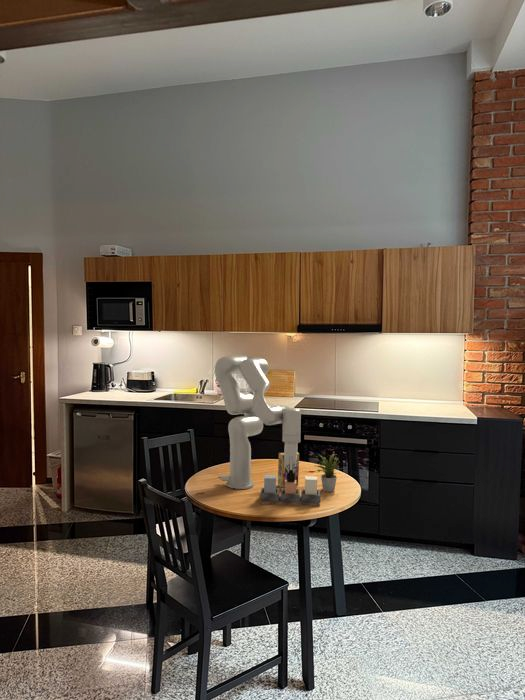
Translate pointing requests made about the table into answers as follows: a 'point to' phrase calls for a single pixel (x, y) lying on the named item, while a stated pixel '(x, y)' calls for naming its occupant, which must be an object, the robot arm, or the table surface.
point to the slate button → (270, 484)
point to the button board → (290, 498)
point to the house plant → (328, 474)
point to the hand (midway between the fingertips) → (290, 481)
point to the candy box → (286, 470)
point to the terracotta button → (290, 487)
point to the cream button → (311, 485)
